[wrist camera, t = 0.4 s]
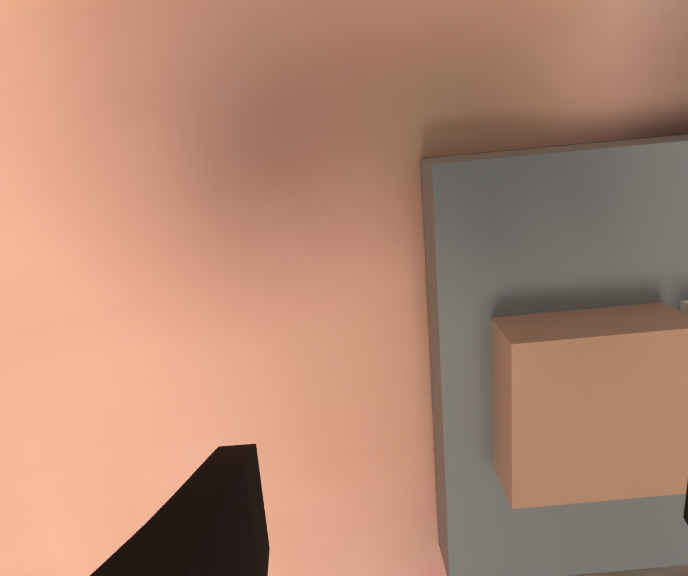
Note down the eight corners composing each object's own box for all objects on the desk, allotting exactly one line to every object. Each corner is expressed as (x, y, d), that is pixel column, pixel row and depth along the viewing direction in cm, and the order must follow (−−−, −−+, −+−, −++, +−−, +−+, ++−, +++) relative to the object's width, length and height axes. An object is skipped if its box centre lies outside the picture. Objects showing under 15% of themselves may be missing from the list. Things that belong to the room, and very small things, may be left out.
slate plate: (789, 512, 21) (835, 552, 19) (439, 543, 21) (449, 586, 19) (854, 118, 17) (920, 119, 15) (420, 158, 17) (432, 164, 15)
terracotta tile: (651, 452, 18) (690, 493, 16) (492, 467, 18) (511, 509, 16) (663, 301, 16) (707, 326, 15) (490, 317, 16) (511, 344, 15)
